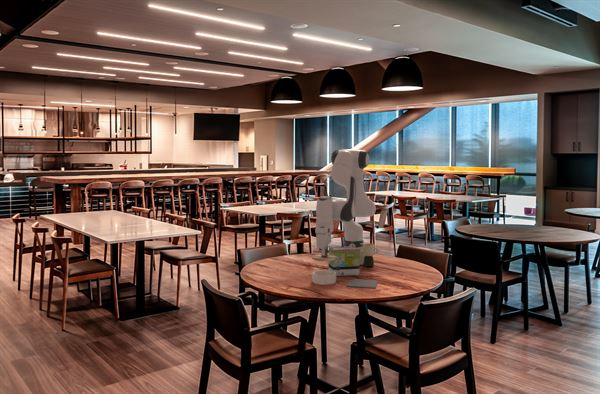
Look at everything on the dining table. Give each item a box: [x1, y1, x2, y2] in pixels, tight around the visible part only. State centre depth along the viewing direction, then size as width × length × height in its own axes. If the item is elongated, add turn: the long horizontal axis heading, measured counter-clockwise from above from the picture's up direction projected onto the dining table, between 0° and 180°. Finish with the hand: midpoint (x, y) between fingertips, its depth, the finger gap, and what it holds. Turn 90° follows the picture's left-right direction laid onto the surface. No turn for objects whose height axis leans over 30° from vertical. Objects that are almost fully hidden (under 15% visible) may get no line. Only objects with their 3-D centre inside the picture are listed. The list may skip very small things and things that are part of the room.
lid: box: [311, 248, 337, 262], centre depth 263 cm, size 13×13×5 cm
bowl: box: [311, 269, 337, 286], centre depth 264 cm, size 12×12×5 cm
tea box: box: [327, 246, 361, 277], centre depth 281 cm, size 15×10×15 cm
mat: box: [346, 278, 379, 289], centre depth 259 cm, size 14×14×1 cm
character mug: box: [360, 243, 379, 267], centre depth 301 cm, size 11×7×13 cm, turn 79°
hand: (324, 254), depth 263 cm, fingers closed on lid, 3 cm apart
